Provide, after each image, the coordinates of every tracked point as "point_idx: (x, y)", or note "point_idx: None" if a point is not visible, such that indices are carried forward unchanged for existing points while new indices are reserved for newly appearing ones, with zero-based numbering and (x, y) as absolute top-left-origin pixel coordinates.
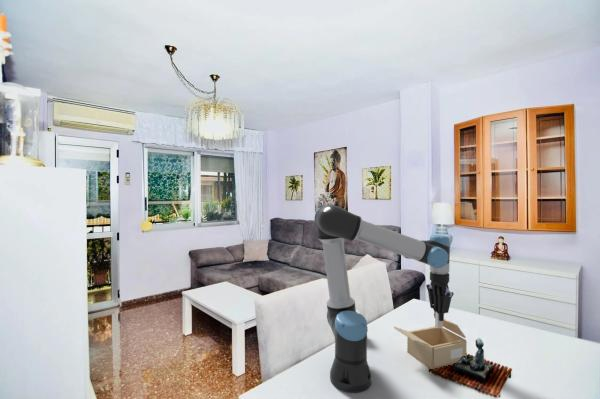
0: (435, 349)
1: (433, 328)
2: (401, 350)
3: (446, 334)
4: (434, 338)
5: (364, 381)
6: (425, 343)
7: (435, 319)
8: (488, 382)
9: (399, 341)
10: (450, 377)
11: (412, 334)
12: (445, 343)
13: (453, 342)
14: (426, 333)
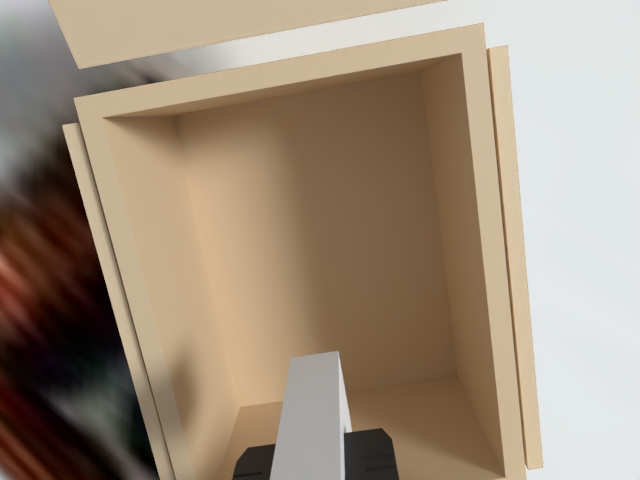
0: (69, 135)
1: (496, 393)
2: (474, 16)
3: (406, 462)
4: (468, 355)
5: None
6: (65, 21)
7: (330, 408)
8: (3, 388)
9: (627, 84)
10: (63, 187)
11: (351, 10)
12: (145, 302)
13: (159, 393)
14: (474, 285)
